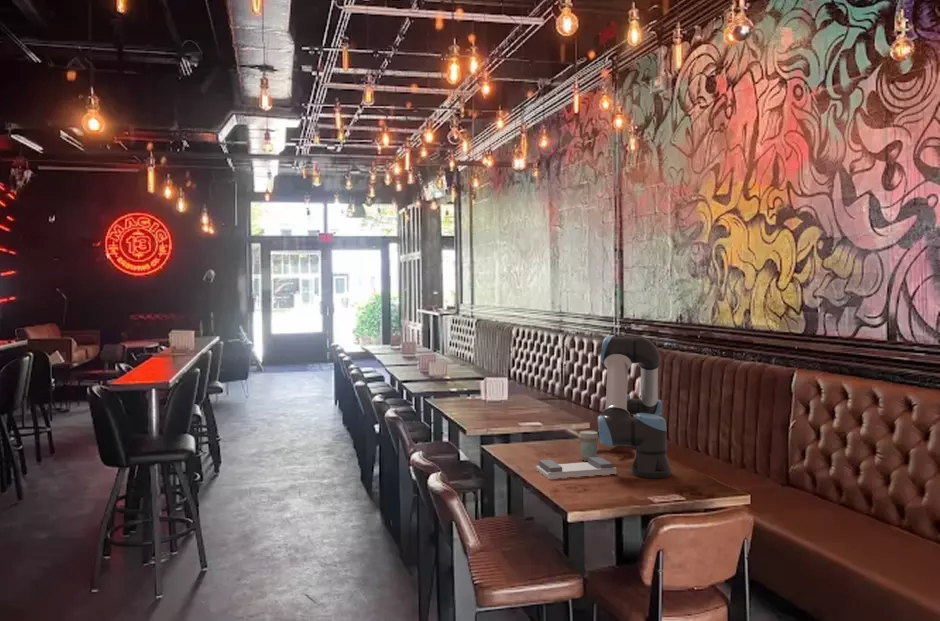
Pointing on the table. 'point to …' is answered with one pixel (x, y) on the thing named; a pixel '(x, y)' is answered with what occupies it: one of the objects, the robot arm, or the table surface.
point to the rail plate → (575, 468)
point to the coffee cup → (588, 444)
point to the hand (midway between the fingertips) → (597, 440)
